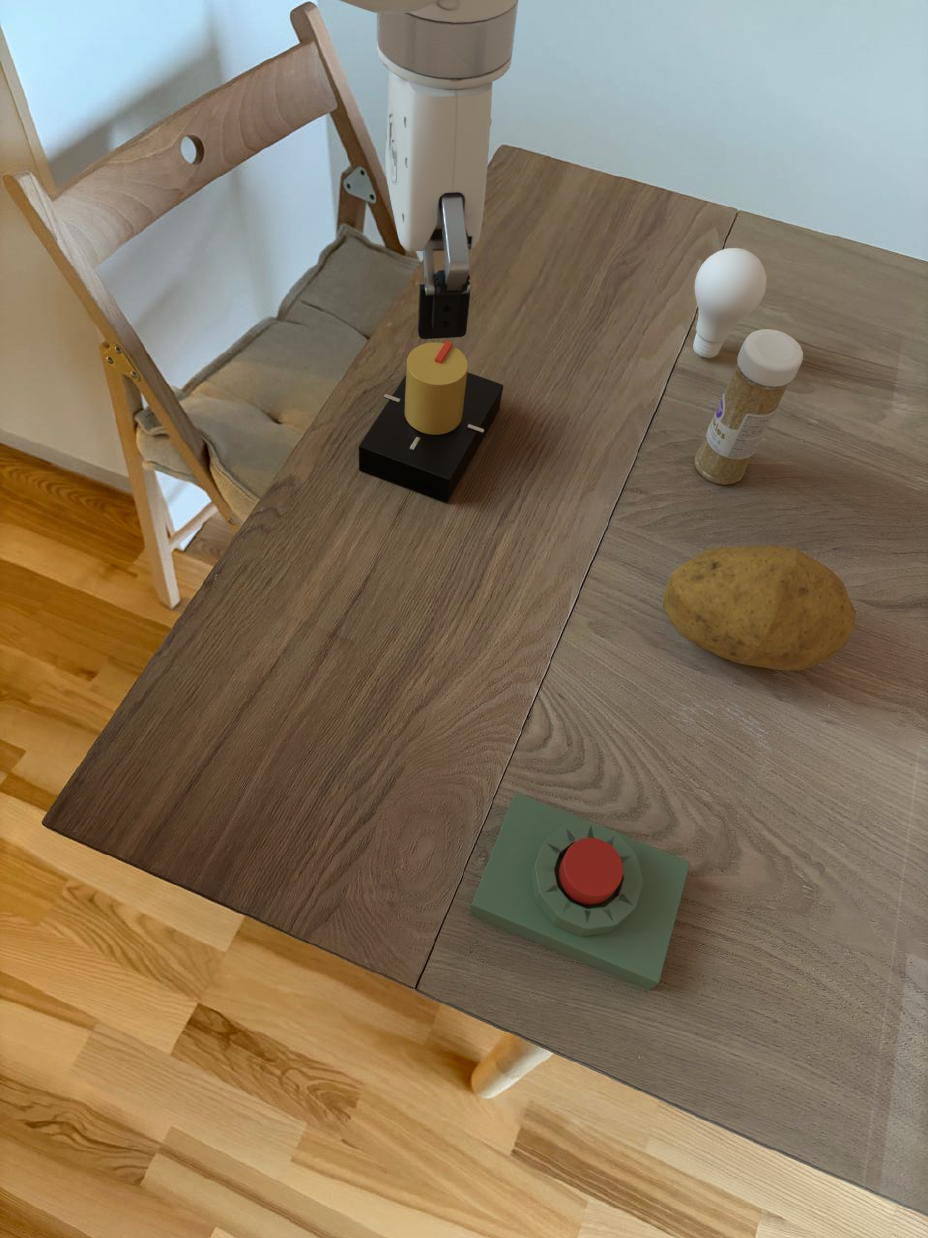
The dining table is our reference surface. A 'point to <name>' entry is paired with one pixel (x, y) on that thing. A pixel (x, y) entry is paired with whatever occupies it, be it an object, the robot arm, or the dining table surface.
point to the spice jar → (748, 404)
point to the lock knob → (435, 387)
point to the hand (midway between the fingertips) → (431, 287)
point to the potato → (760, 606)
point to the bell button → (590, 871)
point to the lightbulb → (725, 296)
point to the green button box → (544, 913)
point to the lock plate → (429, 442)
